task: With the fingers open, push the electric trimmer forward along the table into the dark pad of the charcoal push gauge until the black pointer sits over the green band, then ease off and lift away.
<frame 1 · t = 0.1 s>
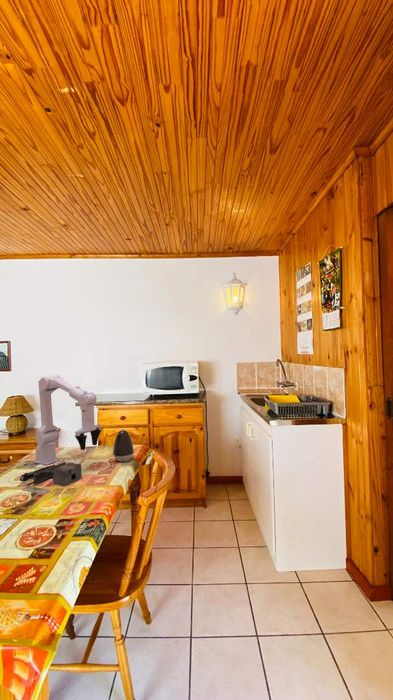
hand: (88, 447, 151), 10 cm above the table, tool pointing down, fingers open, 7 cm apart
gauge frame: (67, 480, 137), on the table
black egg-shaped speaker: (123, 460, 162), on the table
electric trimmer: (37, 476, 145), on the table
gauge plunger: (56, 475, 137), point 2 cm above the table, slide at 0.0 cm
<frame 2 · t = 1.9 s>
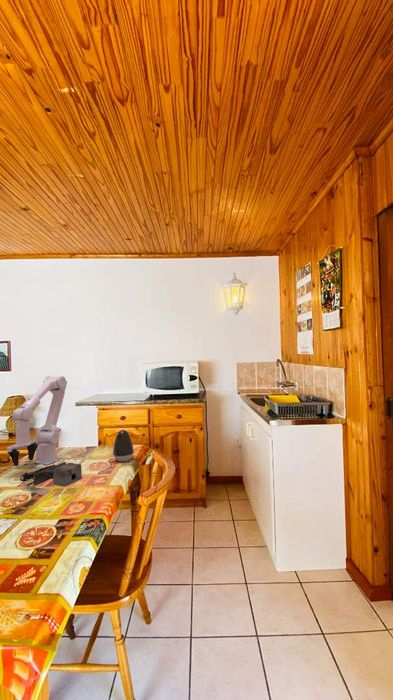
hand: (23, 462, 149), 5 cm above the table, tool pointing down, fingers open, 7 cm apart
nothing on the table moved.
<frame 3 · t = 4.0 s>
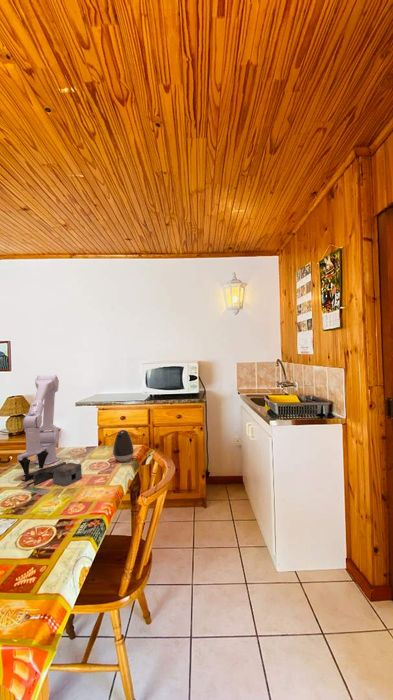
hand: (34, 471, 146), 2 cm above the table, tool pointing down, fingers open, 7 cm apart
electric trimmer: (39, 476, 144), on the table, touching gripper
everything else where it was.
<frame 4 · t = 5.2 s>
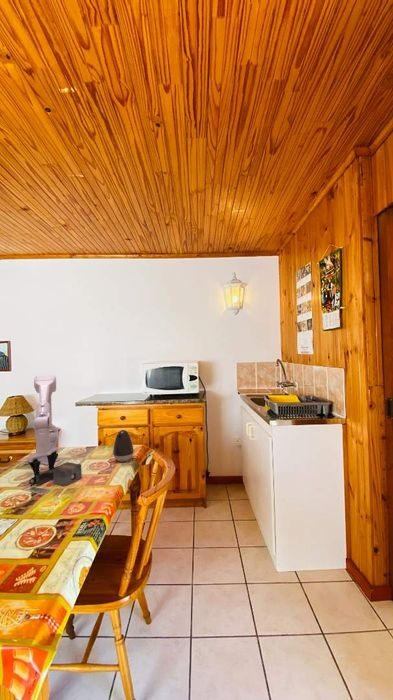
hand: (44, 472, 143), 2 cm above the table, tool pointing down, fingers open, 7 cm apart
electric trimmer: (47, 479, 141), on the table, touching gripper
gauge plunger: (59, 476, 137), point 2 cm above the table, slide at 1.8 cm
everything else where it was.
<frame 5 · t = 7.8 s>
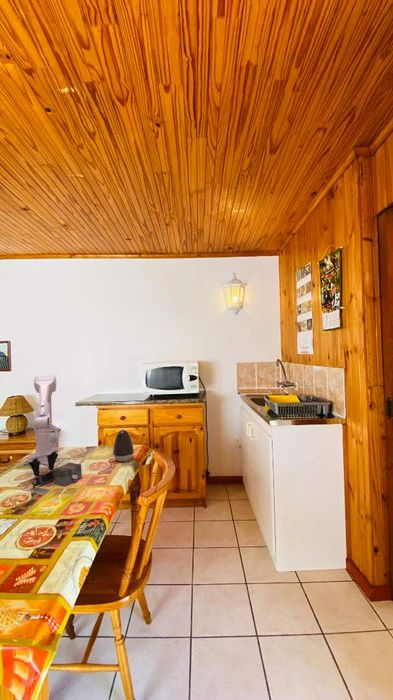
hand: (44, 472, 143), 2 cm above the table, tool pointing down, fingers open, 7 cm apart
electric trimmer: (49, 480, 140), on the table
gauge plunger: (62, 476, 136), point 2 cm above the table, slide at 3.6 cm
everything else where it was.
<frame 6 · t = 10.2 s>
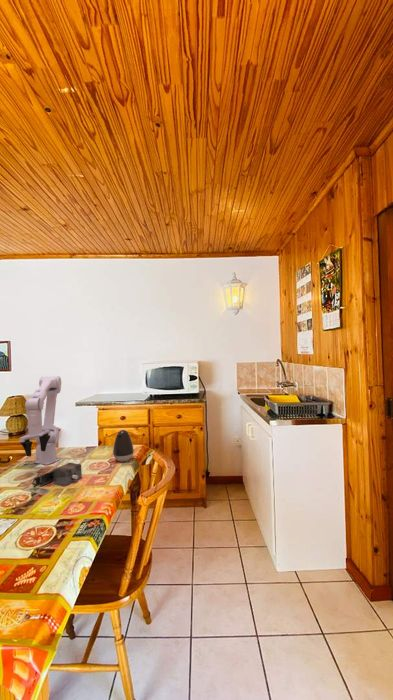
hand: (36, 453, 147), 9 cm above the table, tool pointing down, fingers open, 7 cm apart
gauge plunger: (63, 476, 136), point 2 cm above the table, slide at 4.0 cm
everything else where it was.
at the end: gauge plunger slide at 4.0 cm; electric trimmer inside the target area (1.0 cm from its centre), on the table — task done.
